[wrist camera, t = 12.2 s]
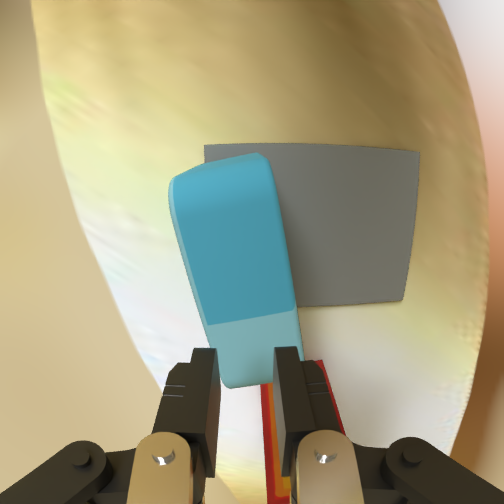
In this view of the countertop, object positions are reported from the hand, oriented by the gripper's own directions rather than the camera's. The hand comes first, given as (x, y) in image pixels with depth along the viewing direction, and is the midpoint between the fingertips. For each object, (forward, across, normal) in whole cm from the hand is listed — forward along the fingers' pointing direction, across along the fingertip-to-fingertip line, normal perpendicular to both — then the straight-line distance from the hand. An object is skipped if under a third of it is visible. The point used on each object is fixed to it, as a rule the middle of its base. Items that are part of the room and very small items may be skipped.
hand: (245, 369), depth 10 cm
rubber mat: (+17, -6, 0) cm, 18 cm away
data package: (+17, 0, 0) cm, 17 cm away
